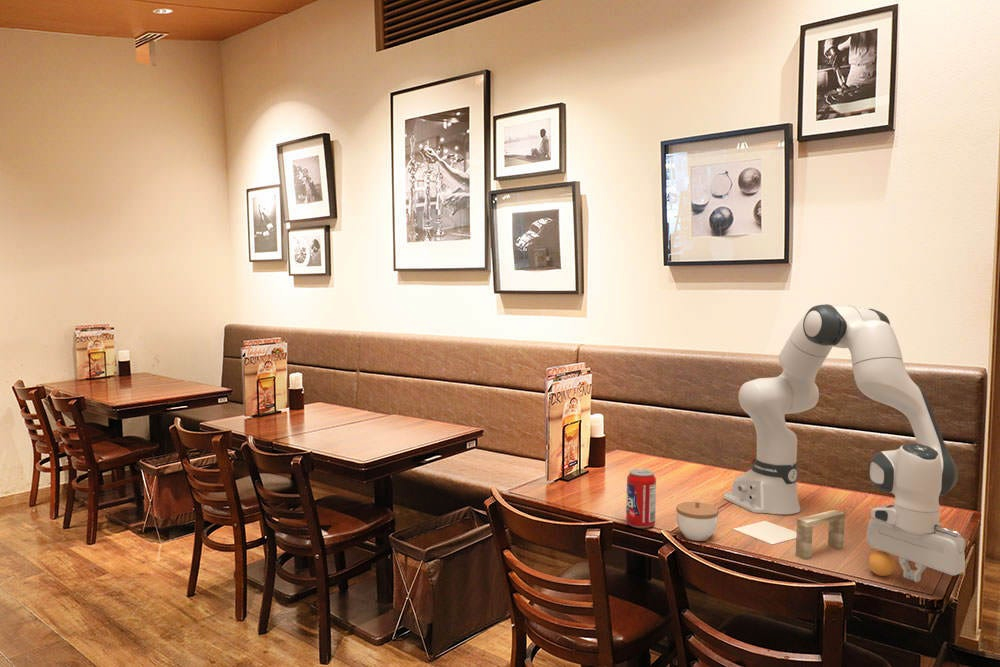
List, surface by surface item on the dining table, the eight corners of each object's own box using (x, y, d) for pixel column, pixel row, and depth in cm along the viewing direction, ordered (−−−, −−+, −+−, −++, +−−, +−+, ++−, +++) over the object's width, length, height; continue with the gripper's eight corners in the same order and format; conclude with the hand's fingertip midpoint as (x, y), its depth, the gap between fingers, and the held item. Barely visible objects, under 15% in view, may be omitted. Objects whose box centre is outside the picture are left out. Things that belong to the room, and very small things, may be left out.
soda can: (655, 530, 196) (657, 476, 194) (626, 529, 197) (627, 474, 196) (654, 521, 203) (655, 468, 202) (625, 519, 205) (626, 467, 203)
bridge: (795, 555, 179) (797, 519, 178) (832, 544, 186) (834, 509, 186) (806, 559, 177) (807, 522, 176) (843, 548, 184) (845, 512, 183)
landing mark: (732, 529, 197) (732, 528, 197) (765, 521, 204) (765, 520, 204) (772, 545, 186) (772, 544, 186) (805, 536, 192) (805, 535, 192)
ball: (862, 573, 169) (863, 550, 168) (877, 568, 171) (878, 545, 171) (885, 581, 164) (886, 558, 164) (899, 576, 167) (901, 553, 166)
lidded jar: (726, 538, 190) (727, 503, 190) (699, 547, 184) (700, 511, 183) (693, 526, 199) (694, 493, 198) (667, 534, 193) (667, 500, 192)
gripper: (973, 531, 153) (969, 594, 154) (880, 503, 171) (877, 560, 172) (957, 536, 150) (952, 601, 151) (864, 507, 167) (860, 566, 169)
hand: (911, 579), depth 162 cm, fingers closed
